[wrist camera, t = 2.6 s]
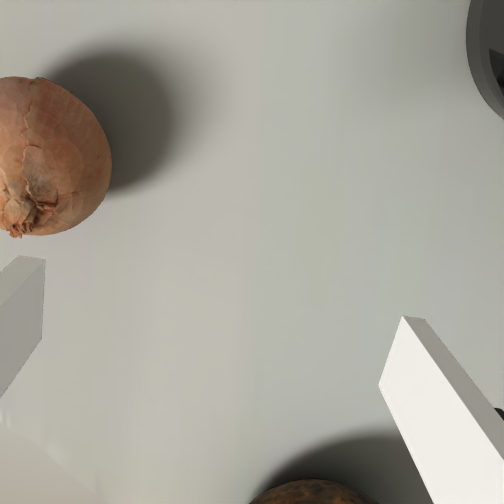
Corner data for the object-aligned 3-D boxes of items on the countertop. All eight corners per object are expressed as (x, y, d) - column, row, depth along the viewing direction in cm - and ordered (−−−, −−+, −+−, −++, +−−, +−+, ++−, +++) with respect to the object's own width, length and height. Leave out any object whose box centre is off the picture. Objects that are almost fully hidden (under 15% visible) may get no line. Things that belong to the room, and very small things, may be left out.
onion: (100, 183, 38) (94, 281, 31) (-38, 156, 34) (-79, 260, 27) (126, 72, 32) (126, 163, 25) (-38, 24, 28) (-90, 116, 21)
